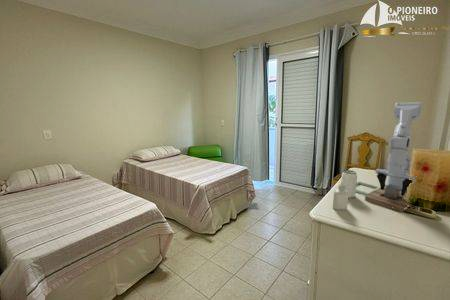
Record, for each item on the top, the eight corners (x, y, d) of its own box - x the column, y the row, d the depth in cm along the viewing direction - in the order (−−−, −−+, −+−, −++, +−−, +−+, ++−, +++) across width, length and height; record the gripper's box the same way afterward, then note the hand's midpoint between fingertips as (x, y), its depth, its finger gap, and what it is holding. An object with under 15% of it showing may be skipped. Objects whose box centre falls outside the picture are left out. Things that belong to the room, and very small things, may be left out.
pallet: (381, 190, 106) (382, 187, 105) (417, 200, 94) (418, 196, 94) (364, 200, 96) (365, 196, 96) (402, 212, 85) (403, 207, 84)
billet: (388, 197, 98) (390, 183, 97) (398, 200, 95) (400, 186, 93) (383, 200, 95) (385, 186, 94) (394, 203, 92) (396, 189, 91)
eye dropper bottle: (348, 211, 86) (351, 184, 84) (333, 209, 88) (335, 183, 86) (346, 206, 90) (349, 180, 88) (331, 205, 92) (334, 179, 90)
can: (357, 198, 98) (360, 174, 96) (342, 197, 99) (344, 173, 97) (351, 192, 104) (354, 170, 102) (337, 192, 106) (340, 169, 103)
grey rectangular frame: (358, 183, 116) (358, 181, 116) (380, 189, 108) (381, 187, 107) (345, 188, 109) (345, 186, 109) (368, 195, 100) (368, 193, 100)
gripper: (374, 161, 95) (370, 189, 98) (414, 168, 83) (409, 200, 86) (380, 159, 99) (377, 185, 102) (420, 165, 87) (415, 195, 90)
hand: (392, 192), depth 94 cm, fingers open, 7 cm apart
